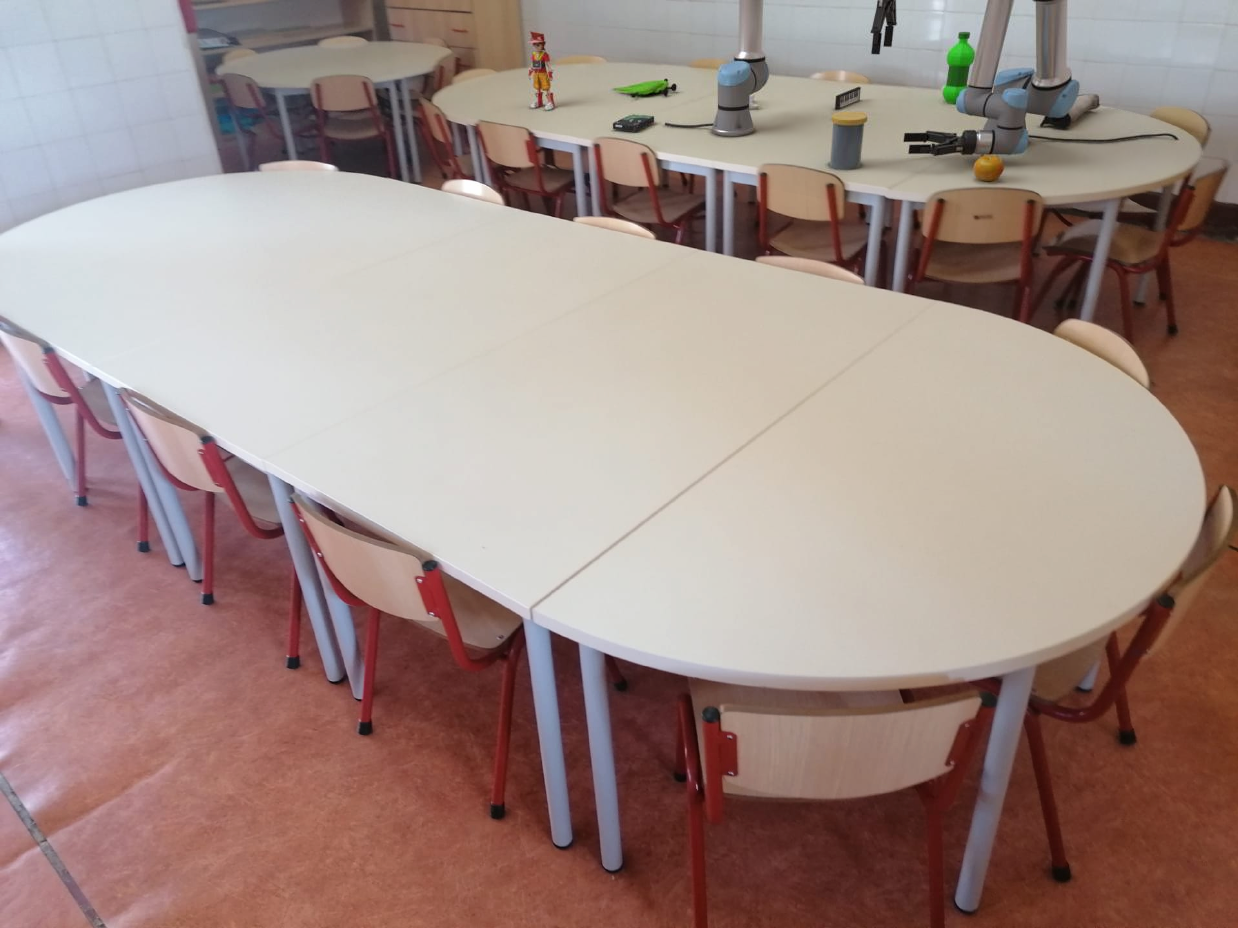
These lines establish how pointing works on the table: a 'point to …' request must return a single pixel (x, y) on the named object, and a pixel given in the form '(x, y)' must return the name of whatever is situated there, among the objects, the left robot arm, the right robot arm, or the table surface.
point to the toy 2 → (648, 88)
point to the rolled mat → (1074, 111)
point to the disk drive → (633, 123)
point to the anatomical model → (751, 104)
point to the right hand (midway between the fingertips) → (906, 143)
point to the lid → (849, 118)
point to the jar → (846, 146)
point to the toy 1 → (541, 71)
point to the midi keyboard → (847, 97)
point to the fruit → (988, 168)
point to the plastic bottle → (958, 67)
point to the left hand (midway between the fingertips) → (881, 50)
